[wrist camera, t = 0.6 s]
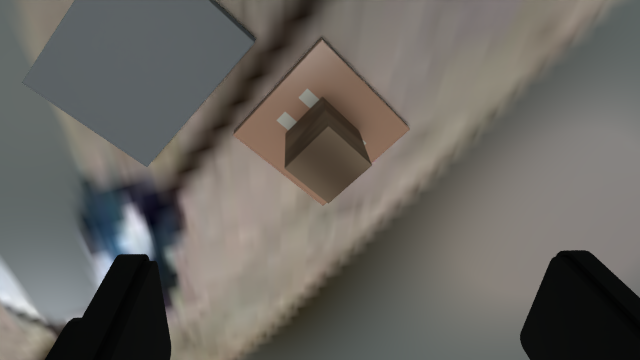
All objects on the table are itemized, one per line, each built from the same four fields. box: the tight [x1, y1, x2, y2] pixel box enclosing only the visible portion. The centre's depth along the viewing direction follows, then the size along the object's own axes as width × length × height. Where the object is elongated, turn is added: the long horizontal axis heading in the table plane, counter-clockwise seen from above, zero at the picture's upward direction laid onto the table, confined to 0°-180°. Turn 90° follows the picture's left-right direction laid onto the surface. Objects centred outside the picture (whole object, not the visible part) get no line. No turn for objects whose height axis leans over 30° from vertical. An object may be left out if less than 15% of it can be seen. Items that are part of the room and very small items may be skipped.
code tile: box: [233, 38, 410, 205], centre depth 39 cm, size 12×12×1 cm
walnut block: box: [284, 97, 372, 203], centre depth 35 cm, size 5×5×7 cm
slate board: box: [22, 0, 256, 167], centre depth 34 cm, size 16×12×2 cm
